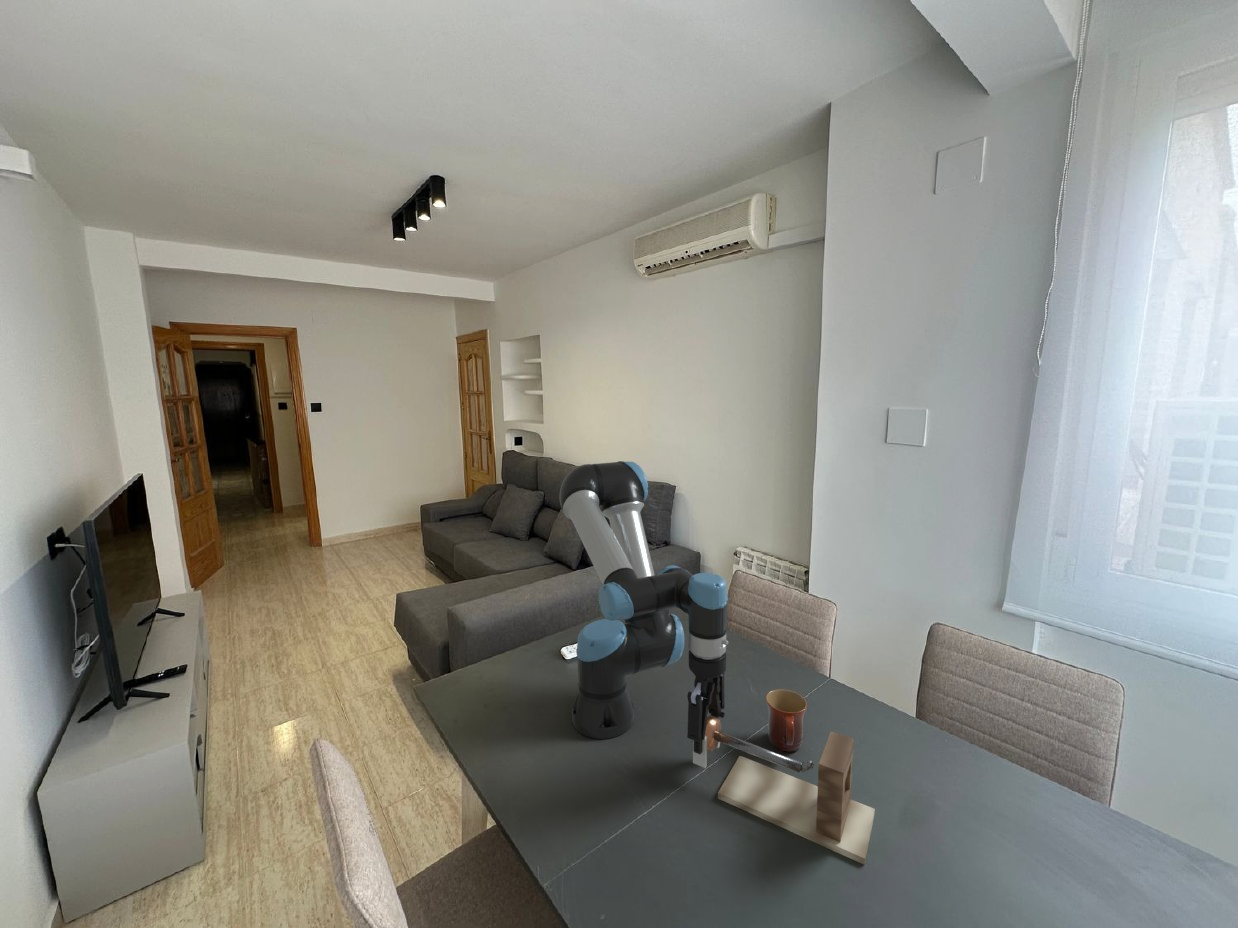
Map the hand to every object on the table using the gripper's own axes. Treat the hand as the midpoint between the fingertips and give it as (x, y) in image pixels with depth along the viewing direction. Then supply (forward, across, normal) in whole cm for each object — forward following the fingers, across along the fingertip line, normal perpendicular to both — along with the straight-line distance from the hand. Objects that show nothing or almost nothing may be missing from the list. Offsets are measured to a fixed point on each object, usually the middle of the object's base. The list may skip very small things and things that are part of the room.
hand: (706, 754), depth 106 cm
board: (+3, 0, -18) cm, 18 cm away
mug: (+4, +15, -12) cm, 20 cm away
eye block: (+2, 0, -25) cm, 25 cm away
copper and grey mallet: (-2, 0, -9) cm, 9 cm away
